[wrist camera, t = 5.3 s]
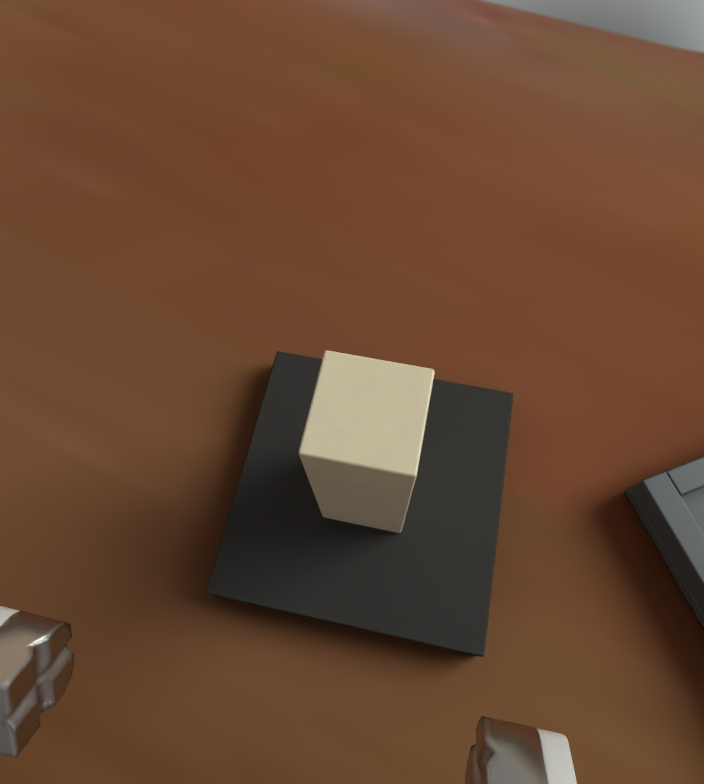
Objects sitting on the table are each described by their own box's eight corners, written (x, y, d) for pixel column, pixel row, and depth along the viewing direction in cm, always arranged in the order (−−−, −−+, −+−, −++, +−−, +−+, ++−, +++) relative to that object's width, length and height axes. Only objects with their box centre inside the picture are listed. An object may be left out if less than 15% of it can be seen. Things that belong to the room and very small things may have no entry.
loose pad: (478, 656, 21) (551, 665, 12) (213, 595, 22) (115, 566, 13) (507, 403, 25) (578, 279, 16) (281, 362, 26) (237, 227, 17)
